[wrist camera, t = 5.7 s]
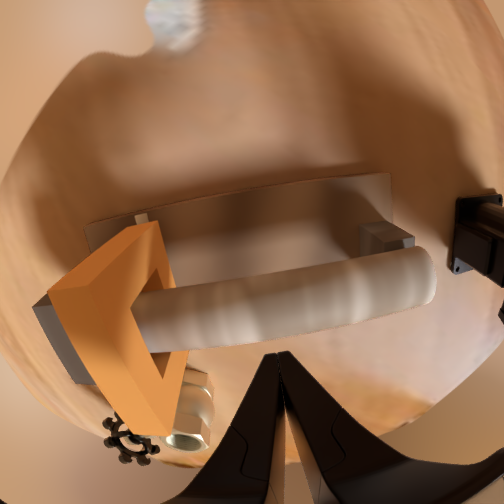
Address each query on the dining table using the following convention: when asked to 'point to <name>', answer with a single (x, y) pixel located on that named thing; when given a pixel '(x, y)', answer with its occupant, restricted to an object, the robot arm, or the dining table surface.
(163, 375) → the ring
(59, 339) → the pipe stand
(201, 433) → the valve
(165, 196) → the dining table surface
